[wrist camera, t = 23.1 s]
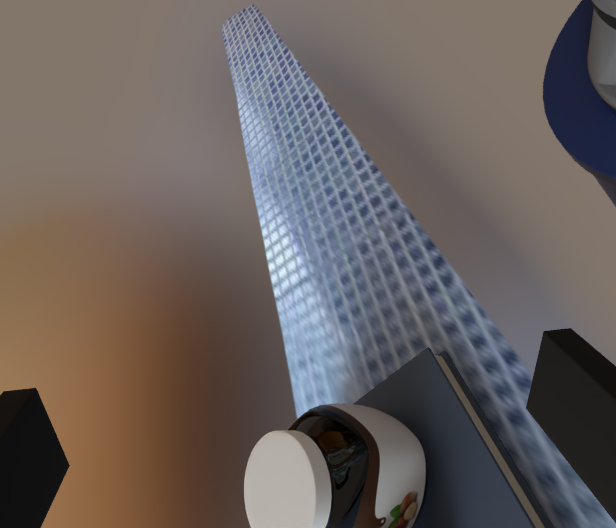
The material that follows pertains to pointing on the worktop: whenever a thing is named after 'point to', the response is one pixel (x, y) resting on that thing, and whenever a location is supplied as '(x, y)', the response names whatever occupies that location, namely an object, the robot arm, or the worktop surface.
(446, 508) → the book
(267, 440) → the spread jar
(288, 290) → the worktop surface
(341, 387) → the worktop surface
